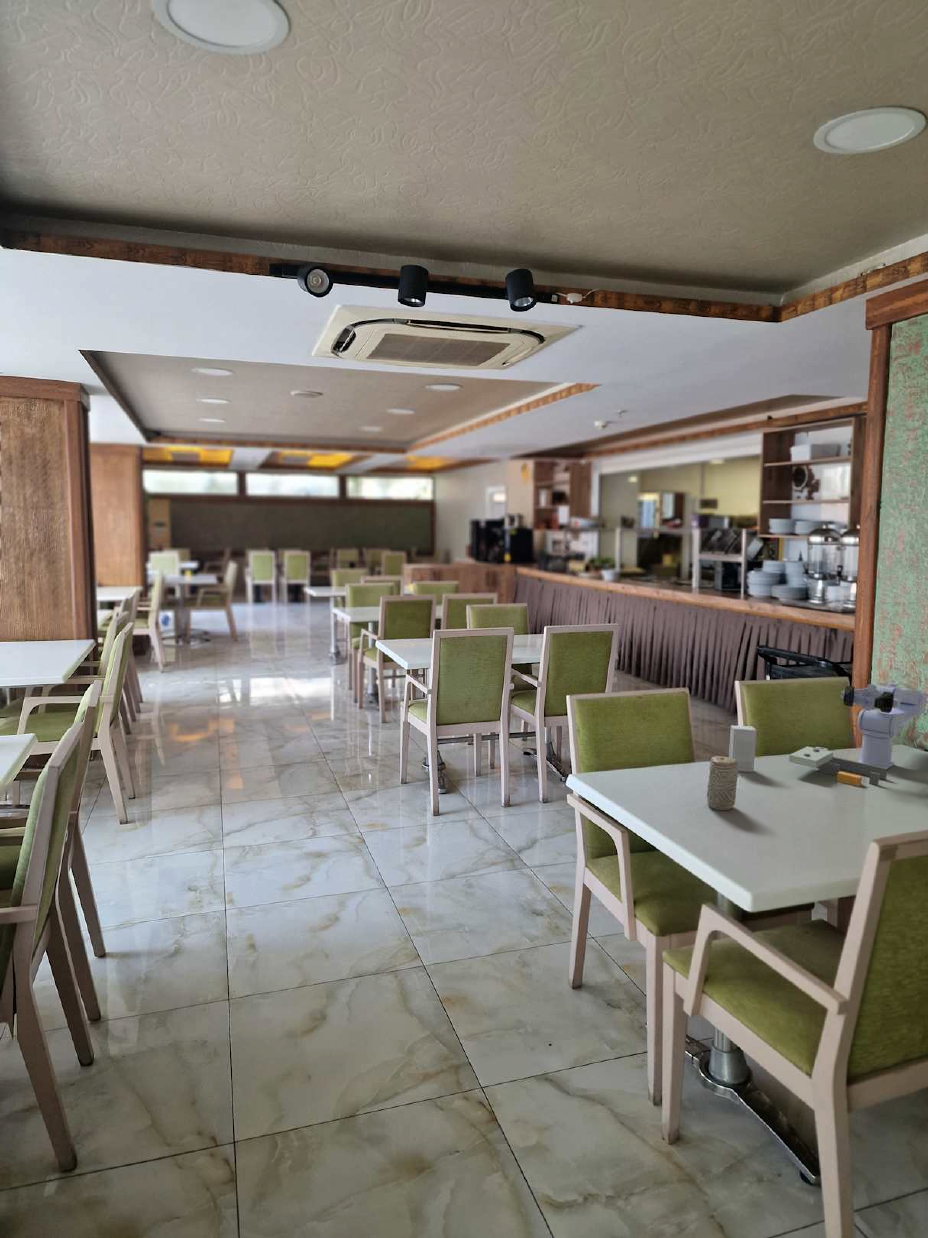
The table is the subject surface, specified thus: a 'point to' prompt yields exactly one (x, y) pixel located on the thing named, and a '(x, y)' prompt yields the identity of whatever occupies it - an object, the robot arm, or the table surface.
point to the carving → (722, 783)
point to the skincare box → (743, 747)
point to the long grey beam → (854, 769)
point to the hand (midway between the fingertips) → (860, 700)
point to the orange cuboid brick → (849, 778)
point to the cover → (811, 756)
